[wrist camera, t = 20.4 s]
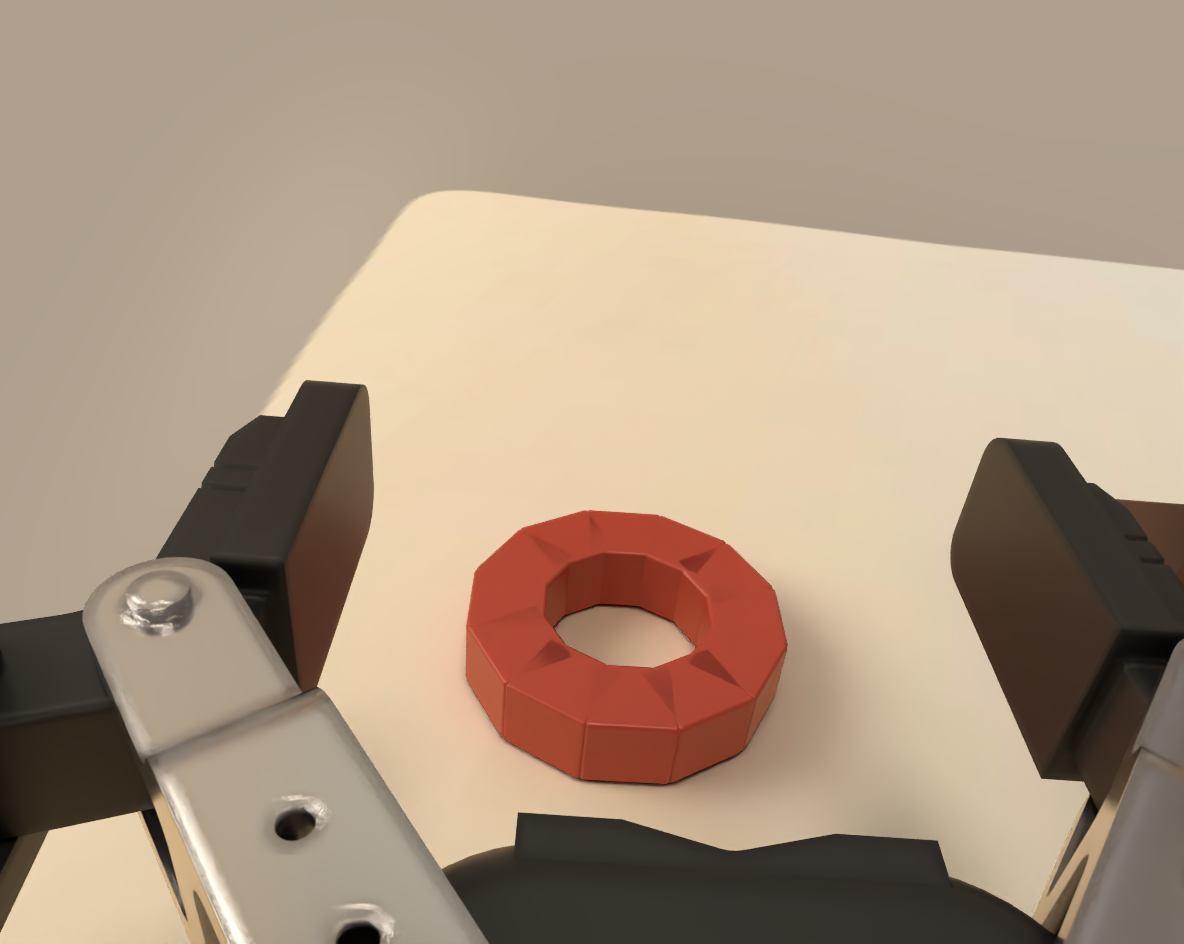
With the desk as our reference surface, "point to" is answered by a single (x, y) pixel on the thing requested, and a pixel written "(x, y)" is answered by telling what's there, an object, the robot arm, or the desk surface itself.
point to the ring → (623, 693)
